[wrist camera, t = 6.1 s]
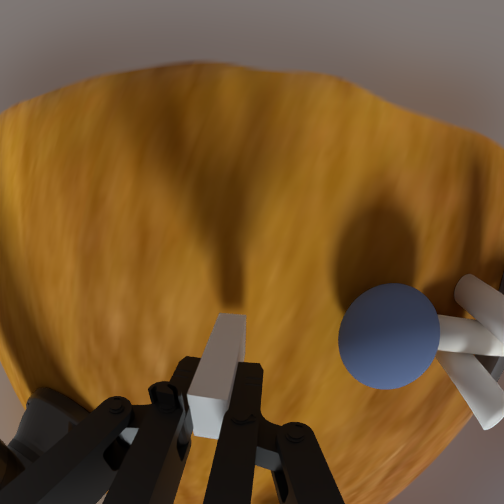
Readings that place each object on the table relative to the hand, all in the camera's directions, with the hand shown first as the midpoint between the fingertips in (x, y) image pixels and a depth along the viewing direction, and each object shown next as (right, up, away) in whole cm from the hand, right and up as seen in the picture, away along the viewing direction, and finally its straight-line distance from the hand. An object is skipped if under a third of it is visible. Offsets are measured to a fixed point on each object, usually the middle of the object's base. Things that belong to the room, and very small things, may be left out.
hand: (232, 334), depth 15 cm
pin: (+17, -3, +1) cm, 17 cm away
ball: (+9, 0, -2) cm, 9 cm away
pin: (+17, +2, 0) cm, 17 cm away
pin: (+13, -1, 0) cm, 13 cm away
